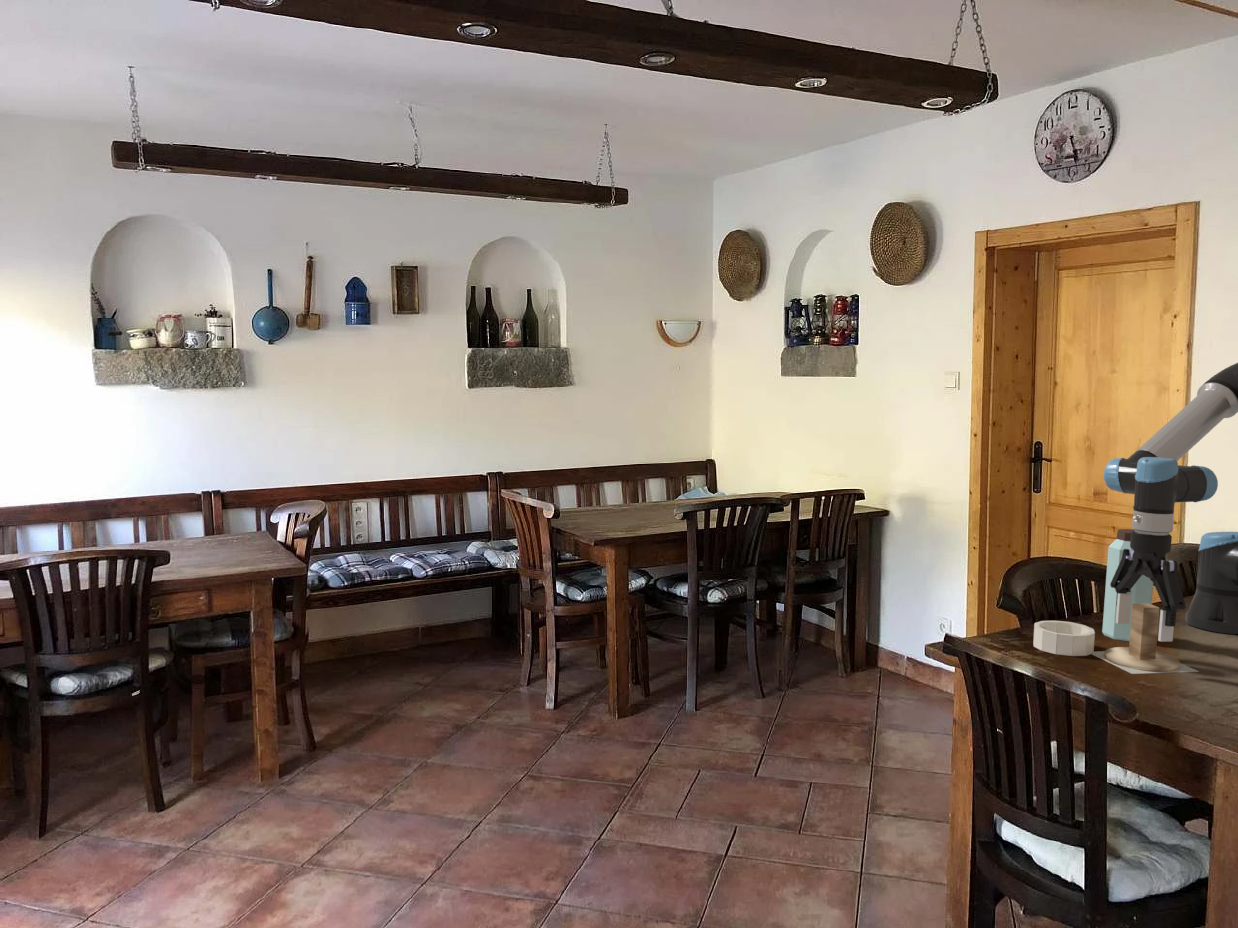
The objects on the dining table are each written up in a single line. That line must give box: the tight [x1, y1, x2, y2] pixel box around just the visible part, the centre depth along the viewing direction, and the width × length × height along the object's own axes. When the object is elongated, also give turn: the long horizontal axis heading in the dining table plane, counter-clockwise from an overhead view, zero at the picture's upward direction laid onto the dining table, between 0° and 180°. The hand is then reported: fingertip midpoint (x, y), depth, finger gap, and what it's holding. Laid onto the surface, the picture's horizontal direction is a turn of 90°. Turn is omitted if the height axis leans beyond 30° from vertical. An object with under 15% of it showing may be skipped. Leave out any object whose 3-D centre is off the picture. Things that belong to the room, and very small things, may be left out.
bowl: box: [1033, 620, 1096, 657], centre depth 220 cm, size 12×12×5 cm
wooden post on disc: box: [1104, 603, 1181, 672], centre depth 211 cm, size 14×14×12 cm
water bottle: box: [1101, 528, 1154, 643], centre depth 229 cm, size 10×10×25 cm
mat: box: [1091, 650, 1200, 675], centre depth 211 cm, size 15×15×1 cm
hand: (1143, 631), depth 210 cm, fingers open, 13 cm apart
